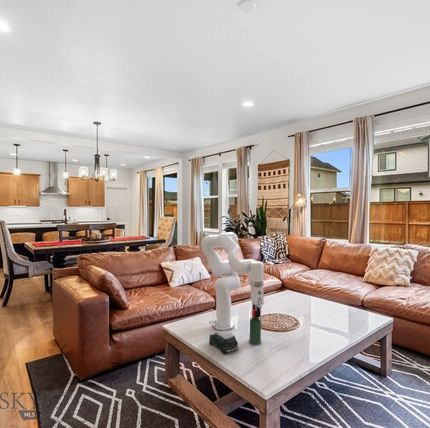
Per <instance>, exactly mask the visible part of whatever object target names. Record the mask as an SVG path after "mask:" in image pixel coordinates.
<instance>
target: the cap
mask: <svg viewBox="0 0 430 428" xmlns="http://www.w3.org/2000/svg"><path fill="white" fill-rule="evenodd" d="M255 310H256V309H252V308H251V317H255ZM255 318H257V317H255Z"/></svg>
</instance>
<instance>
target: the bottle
mask: <svg viewBox="0 0 430 428" xmlns="http://www.w3.org/2000/svg"><path fill="white" fill-rule="evenodd" d="M261 337H262V319H261V317H257V318H255V317H252V316H251V317H250V318H249V344H251V345H254V346H255V345H261V341H262V338H261Z"/></svg>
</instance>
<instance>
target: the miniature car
mask: <svg viewBox="0 0 430 428" xmlns="http://www.w3.org/2000/svg"><path fill="white" fill-rule="evenodd" d="M208 340H209V341H208V342H209V345H214V346H216V347H217V348H219V349H220V350H221V352H222V354H226V353H227V352H231V351H234V350H237V349H238V348H240V346H239V342H238V340H237V339H236V335H234V334H233V333H231V332H230V331H228V330H220V331H219V332H215V333H213V334H210V335H209V338H208Z"/></svg>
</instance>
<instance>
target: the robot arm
mask: <svg viewBox="0 0 430 428" xmlns="http://www.w3.org/2000/svg"><path fill="white" fill-rule="evenodd" d="M200 242H201V244H200V246H201V250H202V253H203V255H204V256H205V258H206V261H207V263H208V266H209V269H210V271H211V273H212V275H213V276H214V277H216V278H217V277H218V278H217V279H216V280H215V282H214V290H215V314H216V315H215V318H214V319H213V320H208V325H211V326H213V328H214V329H216V330H218V331H228V330H231V329H232V328H234V323H233V322H232V297H231V295H230V292H231V291H237V290H238V289H239V288H240V287H241V279H240V276H239V275H242V274H248V273H249V287H250V301H251V310H252V309H256V310H255V317H259V318H261V316H262V308H263V305H264V304H265V297H264V295H265V294H264V288H263V287H264V271H265V270H264V269H265V266H264V262H262V261H259V260H255V259H253V258H247V259H243V260H242V259H241V260H239V259H238V258H237V257H236V256H237V255H238V253H239V252H240V246H239V245H238V242H239V236H238V235H237V234H236V233H235V232H231V231H230V232H222V233H219V234H210V235H206V236H204V237H203V238H202V239H201V241H200ZM216 248H221V249H222V251H224V252H225V253H226V254H227V259H226V260H222V258H221V256H220V254H219V252H218V251H216V250H215V249H216Z"/></svg>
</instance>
